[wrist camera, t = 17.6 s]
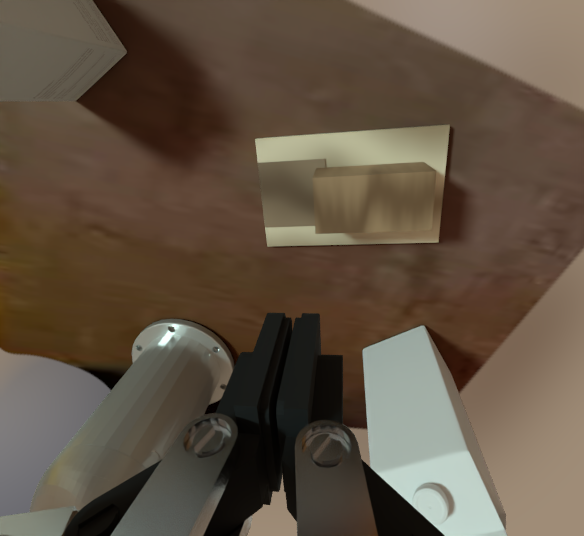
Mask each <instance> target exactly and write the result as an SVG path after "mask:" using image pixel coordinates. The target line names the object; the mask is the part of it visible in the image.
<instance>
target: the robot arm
mask: <svg viewBox="0 0 584 536" xmlns="http://www.w3.org/2000/svg"><path fill="white" fill-rule="evenodd" d="M132 360H133V364H132V366H131V367H130V368H129V369H128V371H127V372H126V373H125V374H124V376H123V377H122V378H121V379H120V380H119V382H118V383H117V384H116V385H115V387H114V388H113V389H112V390H111V391H110V393H109V394H108V395H107V396H106V398H105V399H104V400H103V401H102V403H101V404H100V405H99V406H98V407H97V409H96V410H95V411H94V412H93V414H92V415H91V416H90V417H89V419H88V420H87V421H86V422H85V424H84V425H83V426H82V427H81V429H80V430H79V431H78V432H77V433H76V435H75V436H74V437H73V438H72V439H71V441H70V442H69V443H68V444H67V446H66V447H65V448H64V449H63V450H62V452H61V453H60V454H59V455H58V456H57V458H56V459H55V460H54V461H53V463H52V464H51V465H50V466H49V468H48V469H47V470H46V472H45V473H44V475H43V477H42V478H41V480H40V482H39V484H38V486H37V489H36V491H35V494H34V496H33V499H32V503H31V507H30V512H29V513H22V514H16V515H9V516H2V517H0V536H247V535H248V532H249V529H250V526H251V521H252V515H253V514H254V513H255V512H256V511H258V510H259V509H260V508H262V506H263V504H266V505H270V502H271V497H272V492H273V491H276V492H279V490H280V485H281V479H282V473H283V483H284V491H285V492H286V500H287V509H288V511H289V512H290V513H291V515H292V516H293V517H294V519H295V520H296V521H297V536H445V535H444V534H443V533H441V532H440V531H439V530H438V529H437V528H436V527H435V526H434V525H433V524H432V523H431V522H429V521H428V520H427V519H426V518H425V517H424V516H423V515H422V514H421V513H420V512H418V511H417V510H416V509H415V508H414V507H413V506H412V505H411V504H410V503H409V502H408V501H406V500H405V499H404V498H403V497H402V496H401V495H400V494H399V493H398V492H397V491H396V490H394V489H393V488H392V487H391V486H390V485H389V484H388V483H387V482H386V481H385V480H383V479H382V478H381V477H380V476H379V475H378V474H377V473H376V472H375V471H374V470H373V469H371V468H370V467H369V466H368V465H367V464H366V463H365V462H364V461H363V460H362V459H361V455H360V451H359V446H358V442H357V440H356V438H355V435H354V434H353V433H352V431H351V430H350V429H349V428H348V427H346V426H345V425H343V355H321V339H320V315H319V314H309V313H303V314H302V317H301V318H296V319H295V323H294V327H293V332H292V320H291V318H286V316H285V313H267V316H266V318H265V321H264V324H263V327H262V329H261V332H260V335H259V337H258V340H257V343H256V346H255V348H254V351H253V352H242V353H241V354H240V355H239V357H238V360H237V362H236V365H235V366H234V360H233V358H232V355H231V353H230V351H229V349H228V348H227V346H226V345H225V344H224V343H223V341H222V340H221V339H220V338H219V337H218V336H216V335H215V334H214V333H213V332H211V331H210V330H208V329H207V328H205V327H203V326H201V325H199V324H196V323H194V322H191V321H186V320H182V319H166V320H160V321H157V322H154V323H152V324H151V325H149V326H147V327H146V328H145V329H144V330H143V331H142V332H141V333H140V334H139V336H138V337H137V338H136V340H135V342H134V344H133V349H132ZM220 399H221V401H220V403H219V405H218V408H217V410H216V413H212V414H206V415H204V414H205V411H206V409H207V407H208V405H209V404H212V403H214V402H217V401H219V400H220Z"/></svg>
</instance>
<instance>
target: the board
mask: <svg viewBox="0 0 584 536" xmlns="http://www.w3.org/2000/svg"><path fill="white" fill-rule="evenodd" d="M449 129H450V125H435V126H421V127H407V128H393V129H380V130H366V131H352V132H338V133H325V134H311V135H297V136H283V137H269V138H256V139H255V142H256V151H257V160H258V171H259V180H260V189H261V197H262V206H263V215H264V224H265V230H266V239H267V247H268V246H310V245H352V244H395V243H437V242H439V231H440V221H441V211H442V201H443V191H444V180H445V170H446V160H447V150H448V140H449ZM412 162H425V163H426V164H427V165H429V166H430V167H432V168H433V169H434V170H436V171H437V172H436V183H435V195H434V206H433V217H432V228H431V230H426V231H394V232H363V233H331V234H315V216H314V196H313V175H314V173H315V170H316V168H327V167H344V166H361V165H378V164H395V163H412Z"/></svg>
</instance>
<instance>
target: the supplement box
mask: <svg viewBox="0 0 584 536" xmlns="http://www.w3.org/2000/svg"><path fill="white" fill-rule="evenodd" d="M125 54H127V51H126V49H125V48H124V46H123V45H122V43H121V42H120V40H119V38H118V37H117V36H116V34H115V33H114V31H113V30H112V28H111V27H110V25H109V24H108V22H107V21H106V19H105V18H104V16H103V15H102V14H101V12H100V11H99V9H98V8H97V6H96V5H95V3H94V2H93V0H0V101H76V100H77V99H78V98H79V97H81V96H82V95H83V94H84V93H85V92H86V91H87V90H88V89H89V88H90V87H91V86H92V85H94V84H95V83H96V82H97V81H98V80H99V79H100V78H101V77H102V76H103V75H104V74H105V73H106V72H107V71H108V70H109V69H111V68H112V67H113V66H114V65H115V64H116V63H117V62H118V61H119V60H120V59H121V58H122V57H123V56H124V55H125Z"/></svg>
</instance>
